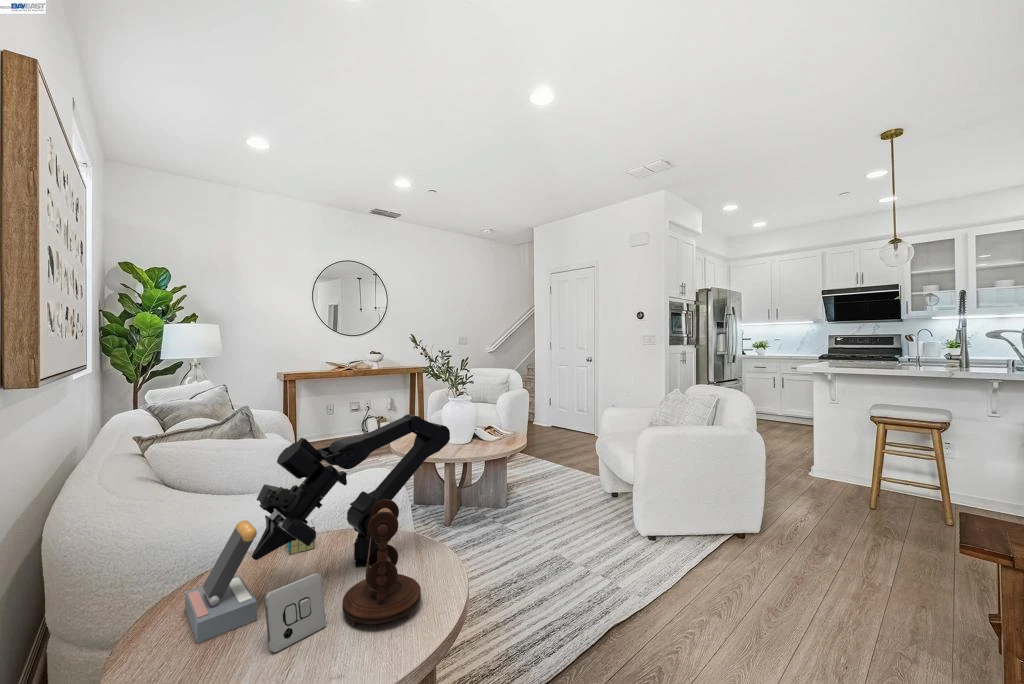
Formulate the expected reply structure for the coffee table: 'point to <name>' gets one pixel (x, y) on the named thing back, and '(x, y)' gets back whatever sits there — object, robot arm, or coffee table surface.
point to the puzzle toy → (300, 543)
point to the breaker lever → (229, 561)
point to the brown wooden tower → (382, 576)
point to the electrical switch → (294, 611)
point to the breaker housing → (220, 610)
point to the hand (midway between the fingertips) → (253, 558)
